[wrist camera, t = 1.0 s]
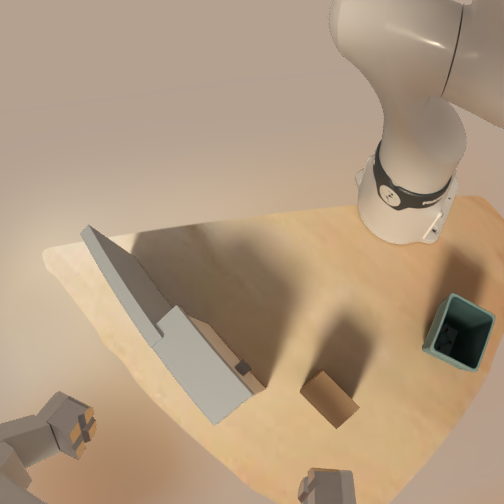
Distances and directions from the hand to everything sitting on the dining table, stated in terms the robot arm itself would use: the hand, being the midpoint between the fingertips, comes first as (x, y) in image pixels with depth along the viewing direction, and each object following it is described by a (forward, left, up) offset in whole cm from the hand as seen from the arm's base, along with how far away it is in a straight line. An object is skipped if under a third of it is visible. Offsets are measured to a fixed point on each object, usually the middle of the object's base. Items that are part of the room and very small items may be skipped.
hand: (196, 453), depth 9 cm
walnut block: (-4, +5, -39) cm, 40 cm away
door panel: (+3, -9, -39) cm, 40 cm away
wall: (+5, -19, -39) cm, 44 cm away
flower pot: (-23, +13, -39) cm, 47 cm away
